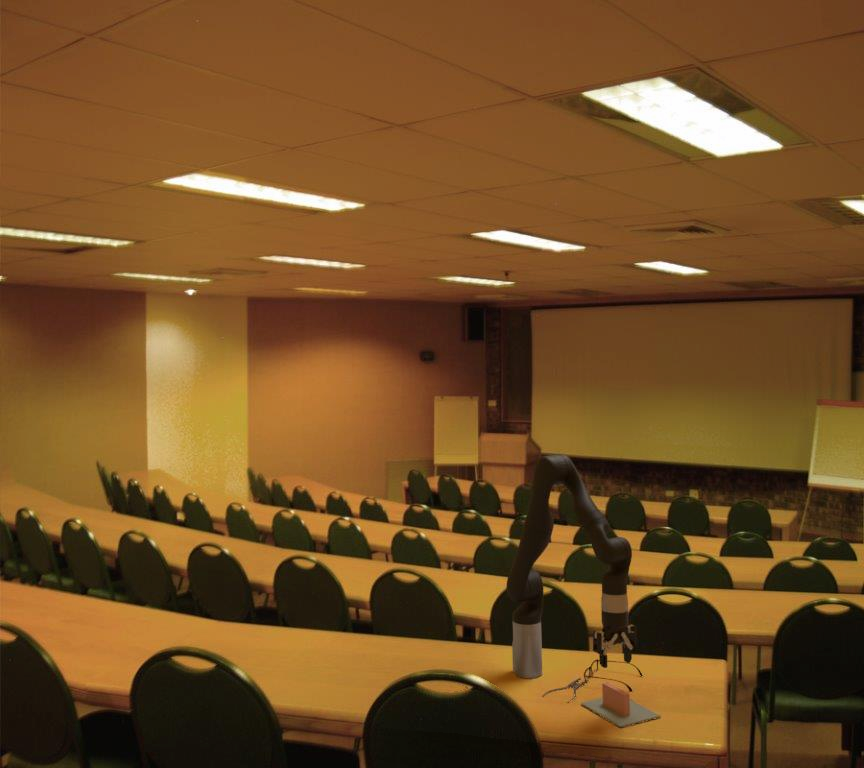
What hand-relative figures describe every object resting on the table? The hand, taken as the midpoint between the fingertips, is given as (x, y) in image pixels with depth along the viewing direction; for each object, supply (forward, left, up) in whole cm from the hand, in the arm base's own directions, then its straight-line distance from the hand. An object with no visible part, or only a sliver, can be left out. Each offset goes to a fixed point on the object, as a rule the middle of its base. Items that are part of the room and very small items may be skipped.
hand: (615, 664), depth 231 cm
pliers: (-21, -3, -14) cm, 26 cm away
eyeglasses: (-20, +14, -14) cm, 28 cm away
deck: (0, 0, -13) cm, 13 cm away
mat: (0, +1, -14) cm, 14 cm away
